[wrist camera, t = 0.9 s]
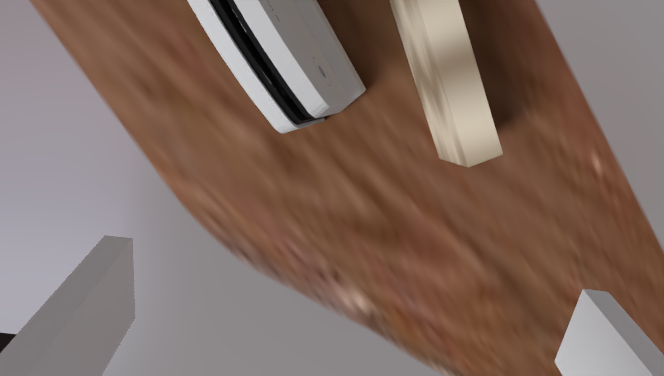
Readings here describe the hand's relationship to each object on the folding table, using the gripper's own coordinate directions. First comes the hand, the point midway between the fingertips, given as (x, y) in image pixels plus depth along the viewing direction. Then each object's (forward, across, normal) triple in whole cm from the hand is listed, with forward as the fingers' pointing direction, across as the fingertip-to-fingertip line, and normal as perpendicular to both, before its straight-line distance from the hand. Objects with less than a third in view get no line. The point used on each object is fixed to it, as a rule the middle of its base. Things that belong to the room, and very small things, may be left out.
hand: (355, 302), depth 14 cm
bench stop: (+27, +3, +9) cm, 29 cm away
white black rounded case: (+26, -6, +5) cm, 27 cm away
